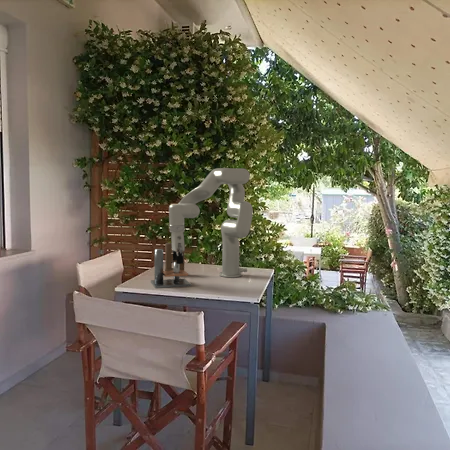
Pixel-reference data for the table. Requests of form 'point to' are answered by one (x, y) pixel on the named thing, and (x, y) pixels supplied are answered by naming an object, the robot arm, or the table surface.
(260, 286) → the table surface
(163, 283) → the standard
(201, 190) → the robot arm
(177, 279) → the wedge pin
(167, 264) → the brown slanted frame
